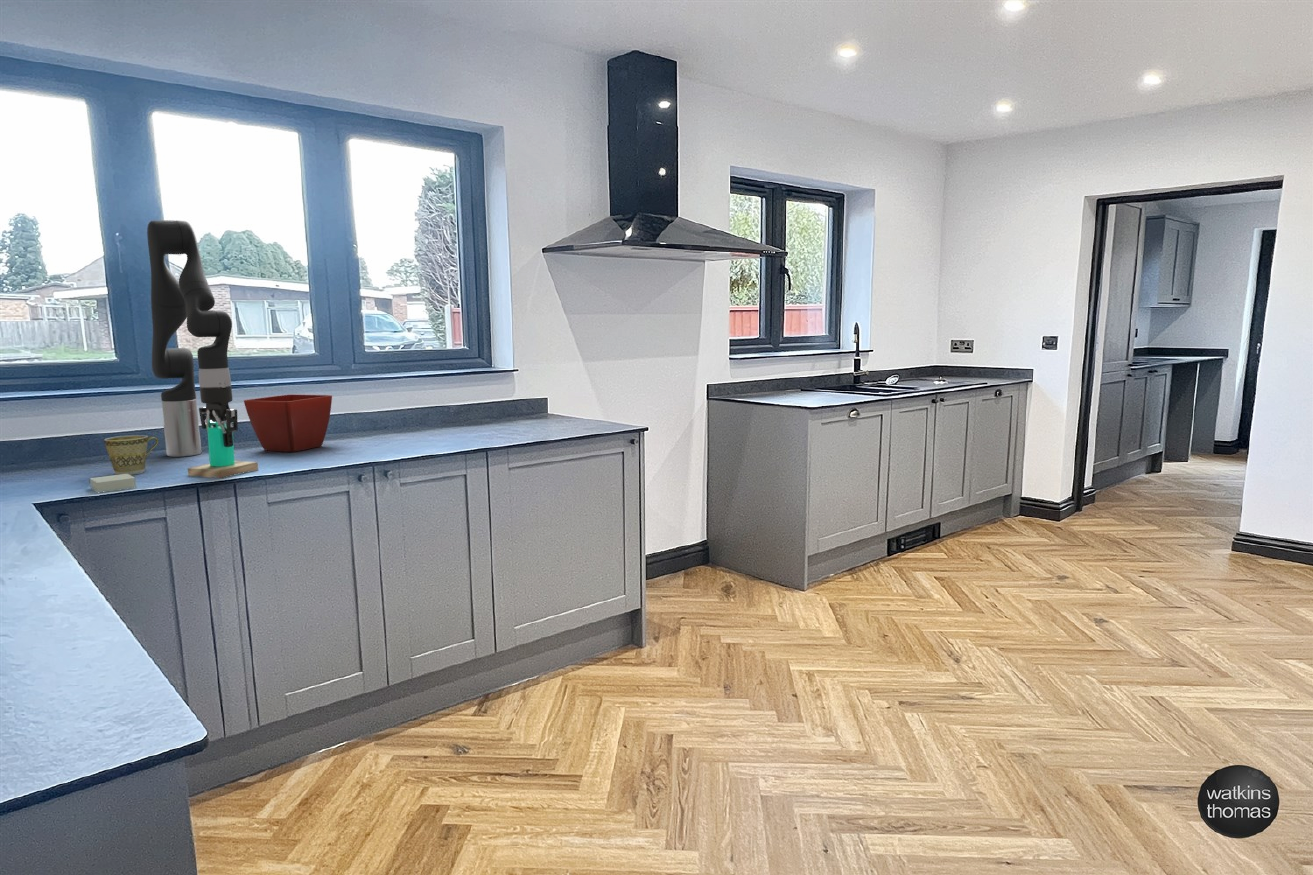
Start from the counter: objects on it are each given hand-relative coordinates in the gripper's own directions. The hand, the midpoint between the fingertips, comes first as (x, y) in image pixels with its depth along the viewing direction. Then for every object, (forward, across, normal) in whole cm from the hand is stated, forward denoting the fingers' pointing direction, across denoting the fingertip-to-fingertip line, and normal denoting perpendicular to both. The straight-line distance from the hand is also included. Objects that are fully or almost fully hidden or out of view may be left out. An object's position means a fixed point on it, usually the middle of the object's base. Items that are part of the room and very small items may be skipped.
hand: (221, 445), depth 214 cm
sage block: (+8, -6, -25) cm, 27 cm away
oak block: (+8, 0, 0) cm, 8 cm away
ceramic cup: (+8, -23, -11) cm, 27 cm away
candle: (+6, 0, 0) cm, 6 cm away
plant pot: (+8, -19, +35) cm, 41 cm away
